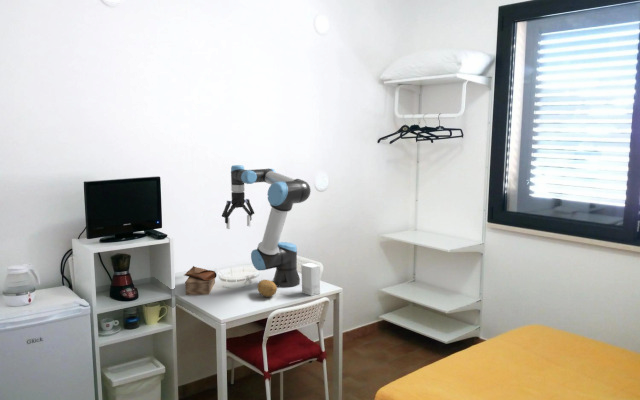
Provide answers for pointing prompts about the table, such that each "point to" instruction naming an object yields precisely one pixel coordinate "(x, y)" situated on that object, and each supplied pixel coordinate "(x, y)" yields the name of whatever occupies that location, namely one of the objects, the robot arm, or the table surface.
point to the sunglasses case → (201, 273)
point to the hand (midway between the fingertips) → (238, 227)
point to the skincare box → (310, 279)
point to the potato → (267, 288)
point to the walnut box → (199, 286)
